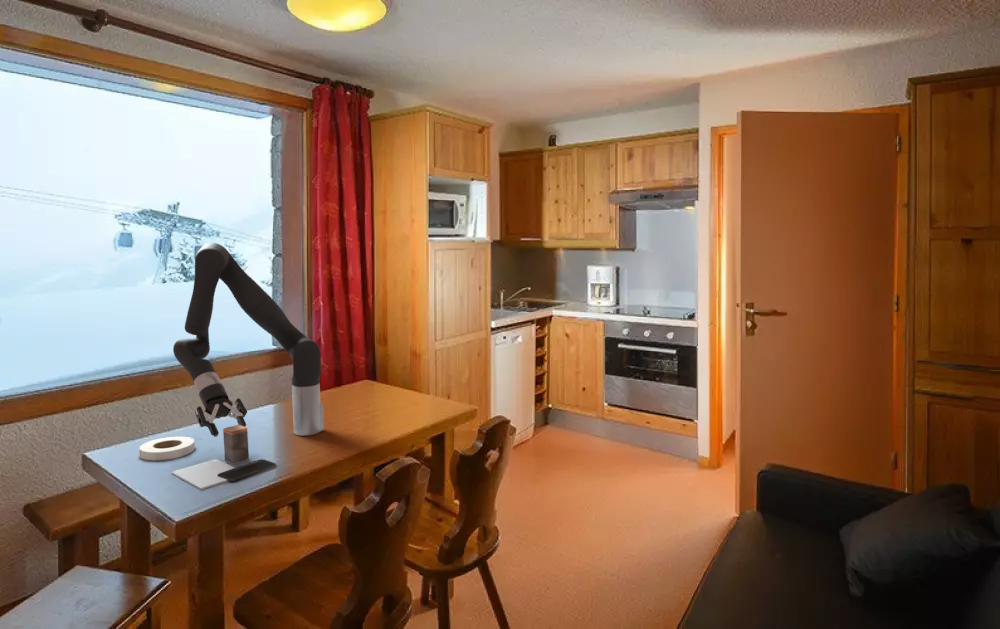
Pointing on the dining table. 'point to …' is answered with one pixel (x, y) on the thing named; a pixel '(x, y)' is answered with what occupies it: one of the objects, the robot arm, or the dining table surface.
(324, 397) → the dining table surface
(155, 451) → the roll of tape
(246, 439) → the block
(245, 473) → the phone
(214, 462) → the mat
